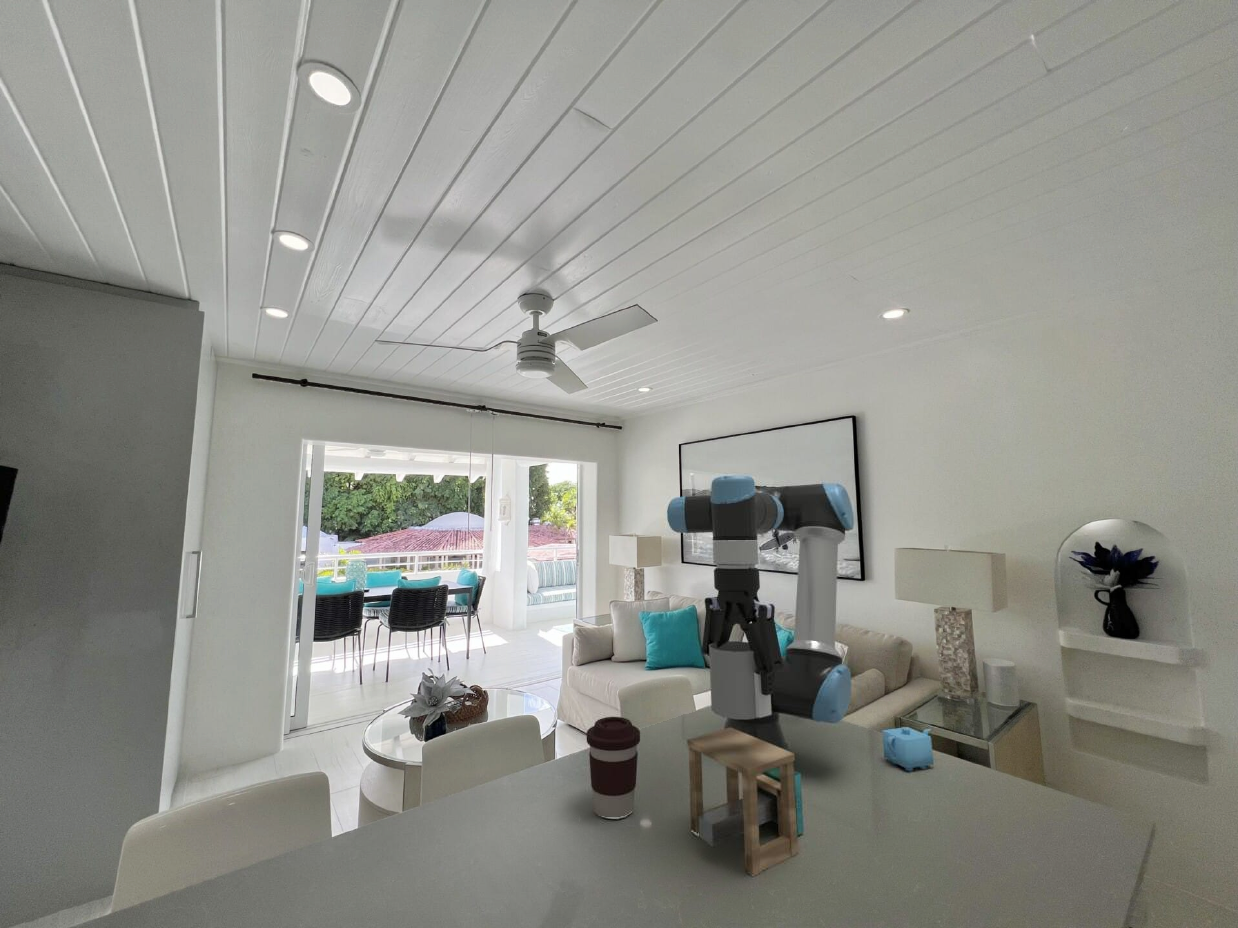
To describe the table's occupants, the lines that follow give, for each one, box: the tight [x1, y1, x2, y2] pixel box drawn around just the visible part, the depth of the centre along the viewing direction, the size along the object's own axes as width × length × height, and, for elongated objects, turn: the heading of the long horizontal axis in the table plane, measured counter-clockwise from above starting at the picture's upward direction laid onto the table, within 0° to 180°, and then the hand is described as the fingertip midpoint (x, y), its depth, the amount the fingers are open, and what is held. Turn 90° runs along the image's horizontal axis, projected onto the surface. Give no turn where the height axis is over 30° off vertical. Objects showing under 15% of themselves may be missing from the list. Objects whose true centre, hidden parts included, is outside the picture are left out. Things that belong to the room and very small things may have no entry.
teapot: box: [881, 726, 934, 772], centre depth 111 cm, size 12×6×8 cm, turn 107°
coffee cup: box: [586, 716, 641, 817], centre depth 93 cm, size 10×10×15 cm
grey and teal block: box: [698, 766, 805, 847], centre depth 83 cm, size 18×8×9 cm, turn 123°
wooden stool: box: [686, 727, 799, 877], centre depth 84 cm, size 14×13×14 cm
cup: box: [709, 640, 759, 719], centre depth 83 cm, size 8×8×10 cm
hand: (741, 707), depth 83 cm, fingers closed on cup, 8 cm apart
